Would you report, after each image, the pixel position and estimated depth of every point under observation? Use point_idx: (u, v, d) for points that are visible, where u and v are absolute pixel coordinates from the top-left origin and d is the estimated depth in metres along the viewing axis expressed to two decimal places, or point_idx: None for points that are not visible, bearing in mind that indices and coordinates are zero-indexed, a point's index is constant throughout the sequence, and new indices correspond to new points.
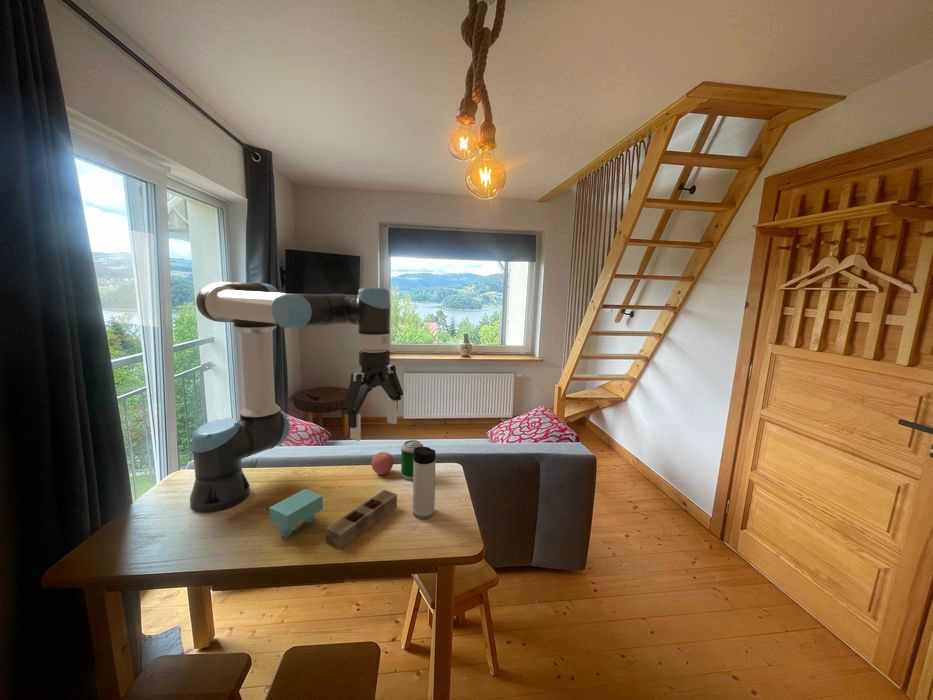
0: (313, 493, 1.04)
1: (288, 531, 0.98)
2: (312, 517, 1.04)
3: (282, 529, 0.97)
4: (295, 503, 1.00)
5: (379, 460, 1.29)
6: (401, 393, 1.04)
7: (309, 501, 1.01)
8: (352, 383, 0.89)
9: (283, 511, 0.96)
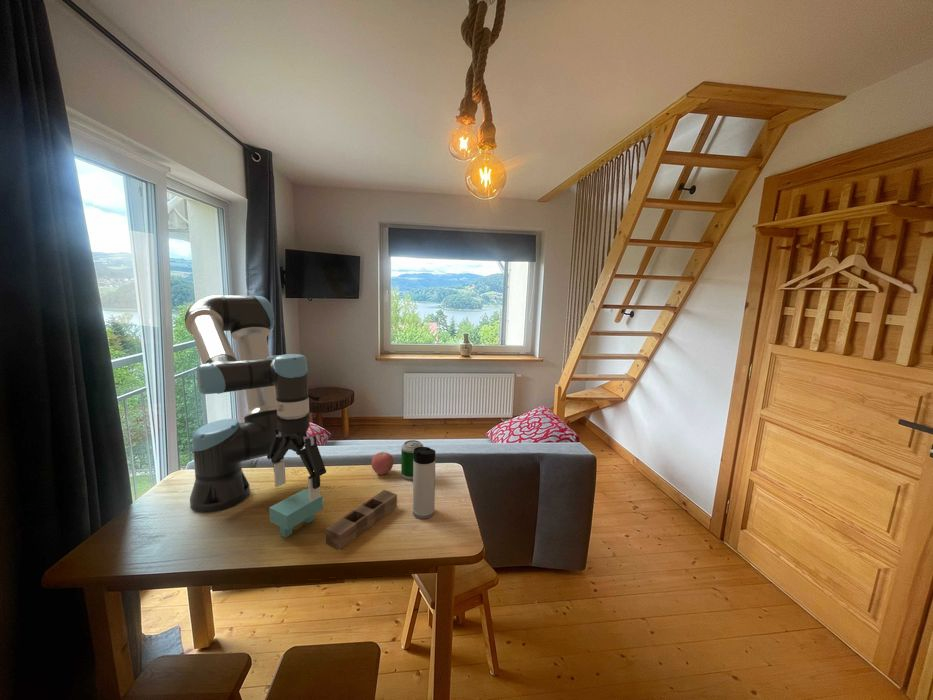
0: None
1: (288, 531, 0.98)
2: (312, 517, 1.04)
3: (282, 529, 0.97)
4: (295, 502, 1.00)
5: (379, 460, 1.29)
6: (315, 474, 0.93)
7: (309, 501, 1.01)
8: None
9: (283, 511, 0.96)
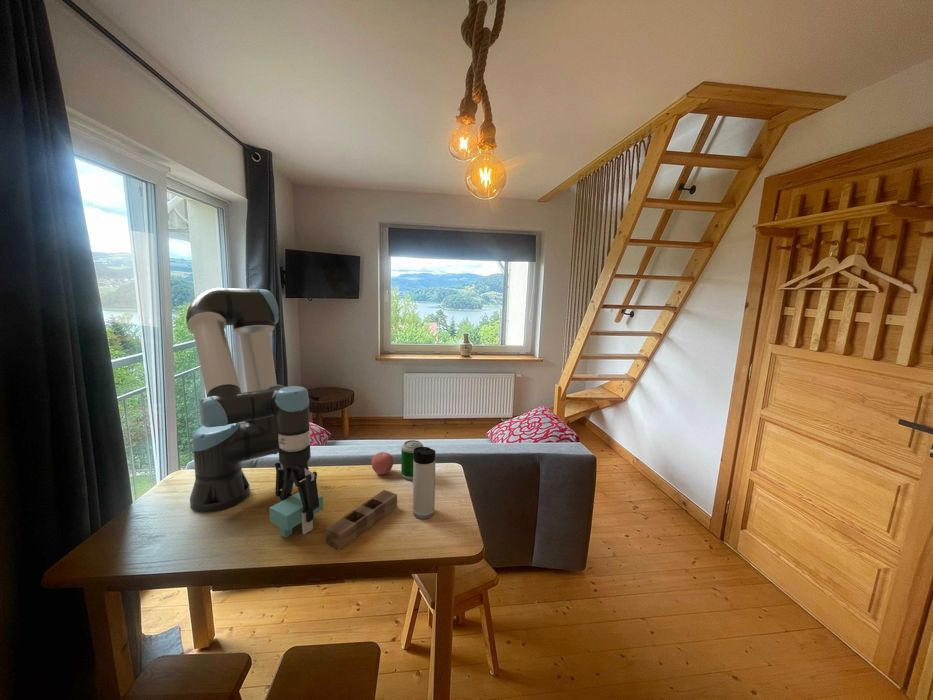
0: None
1: (288, 531, 0.98)
2: None
3: (282, 529, 0.97)
4: (295, 503, 1.00)
5: (379, 460, 1.29)
6: (309, 508, 0.96)
7: None
8: None
9: (283, 511, 0.96)
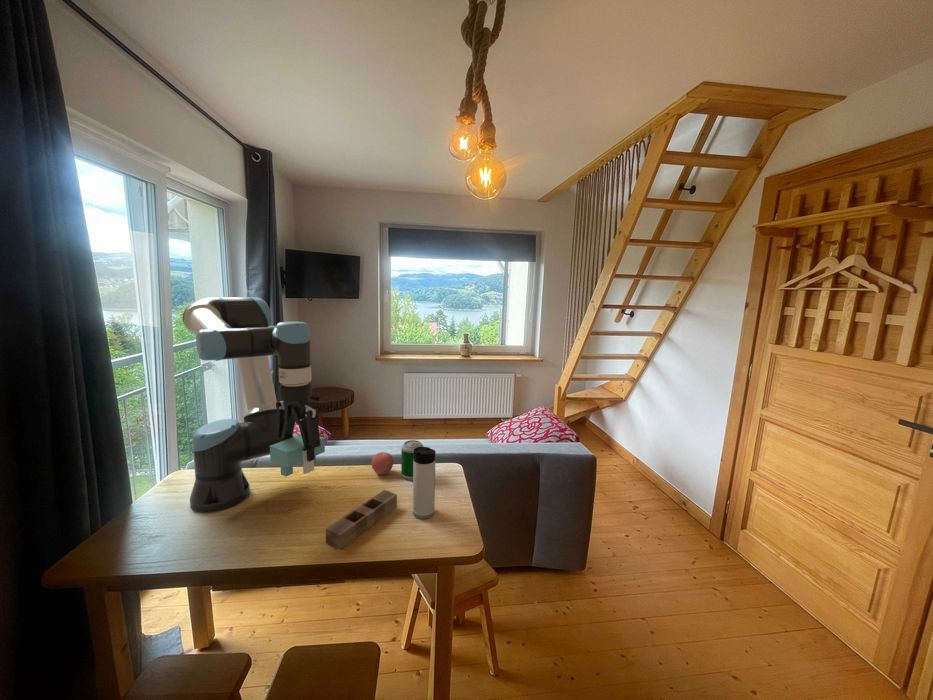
0: None
1: (289, 470, 0.95)
2: (314, 460, 1.02)
3: (283, 468, 0.95)
4: (296, 442, 0.97)
5: (379, 460, 1.29)
6: (310, 445, 0.93)
7: None
8: None
9: (283, 448, 0.93)
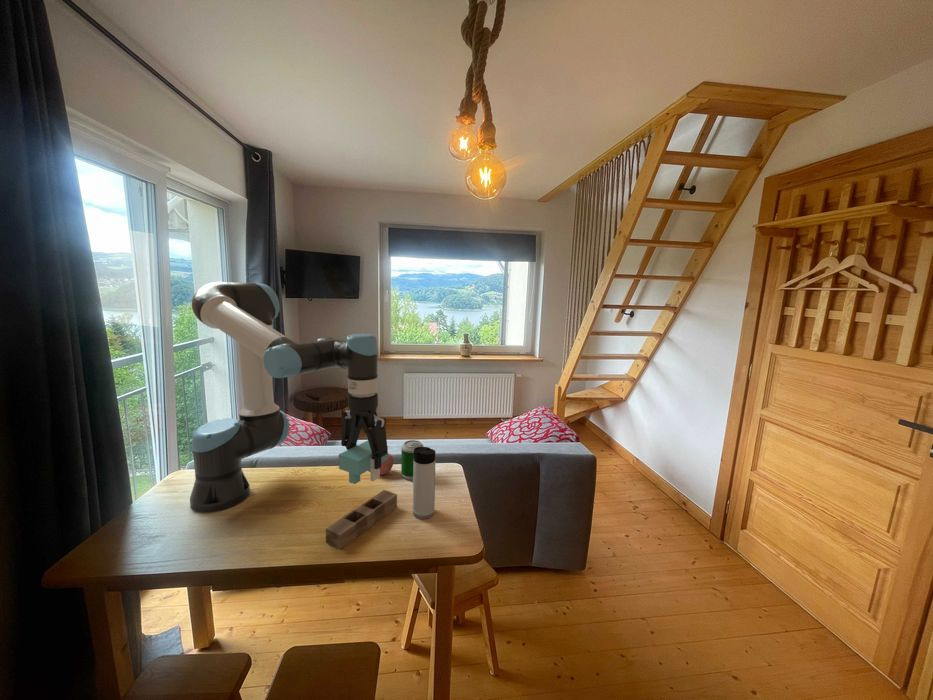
0: None
1: (357, 478, 0.98)
2: None
3: (351, 475, 0.97)
4: (363, 451, 1.00)
5: None
6: (379, 454, 0.96)
7: None
8: None
9: (353, 457, 0.96)
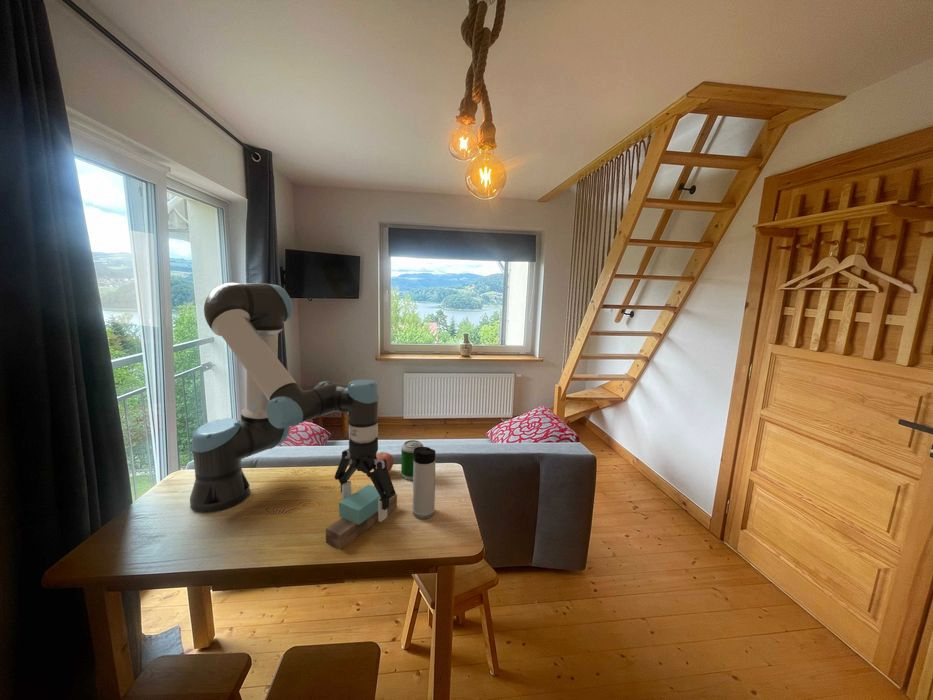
0: None
1: None
2: None
3: None
4: (363, 498, 1.02)
5: None
6: (387, 496, 0.97)
7: (376, 496, 1.03)
8: None
9: (353, 506, 0.98)
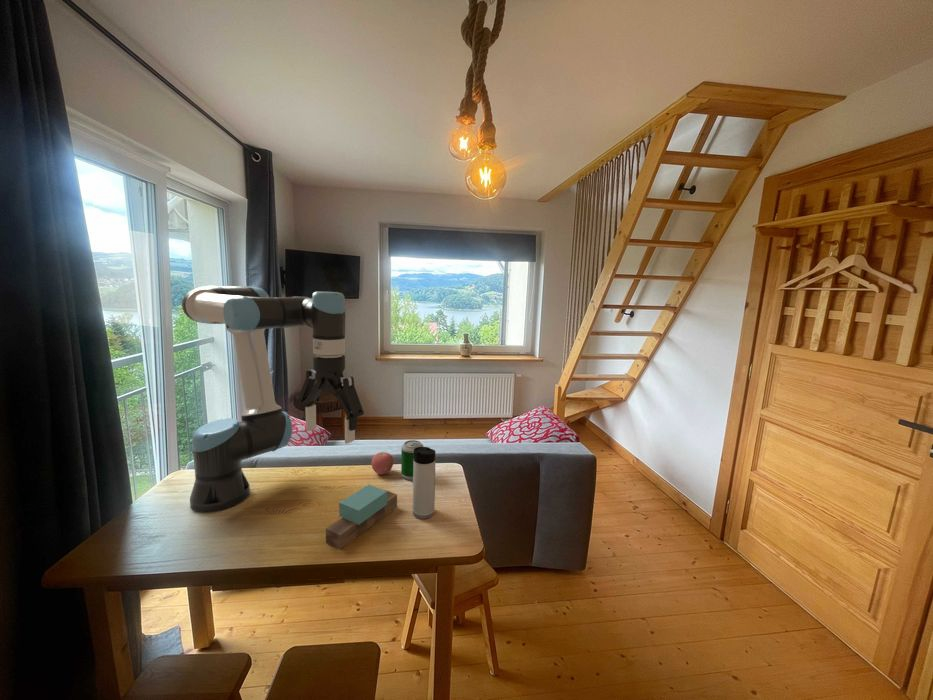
0: (377, 489, 1.07)
1: None
2: None
3: None
4: (363, 498, 1.02)
5: (379, 460, 1.29)
6: (354, 414, 0.90)
7: (376, 496, 1.03)
8: None
9: (353, 506, 0.98)
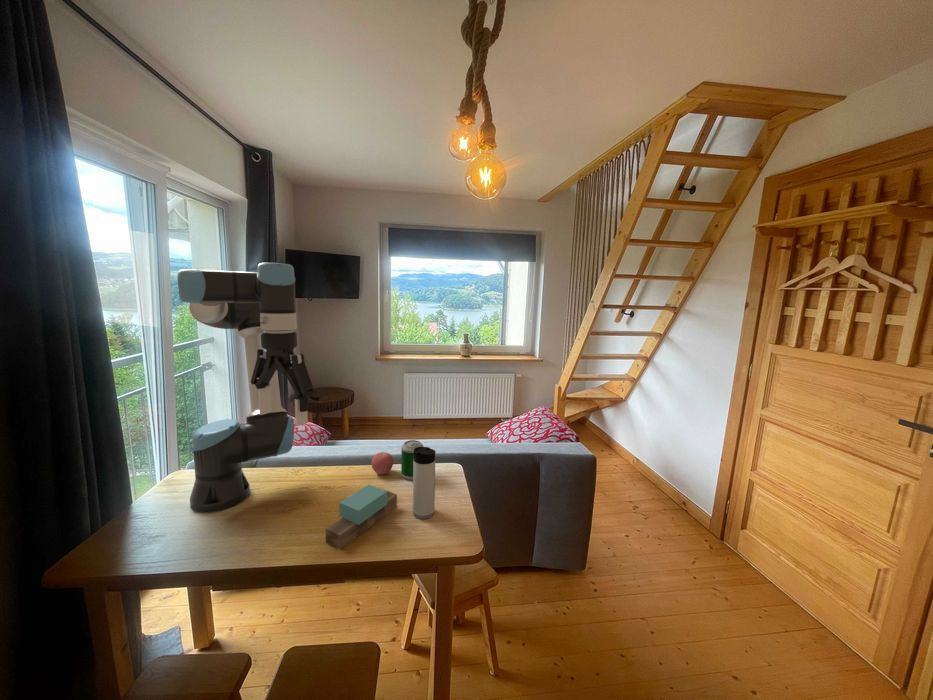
0: (377, 489, 1.07)
1: None
2: None
3: None
4: (363, 498, 1.02)
5: (379, 460, 1.29)
6: (303, 393, 0.84)
7: (376, 496, 1.03)
8: None
9: (353, 506, 0.98)
